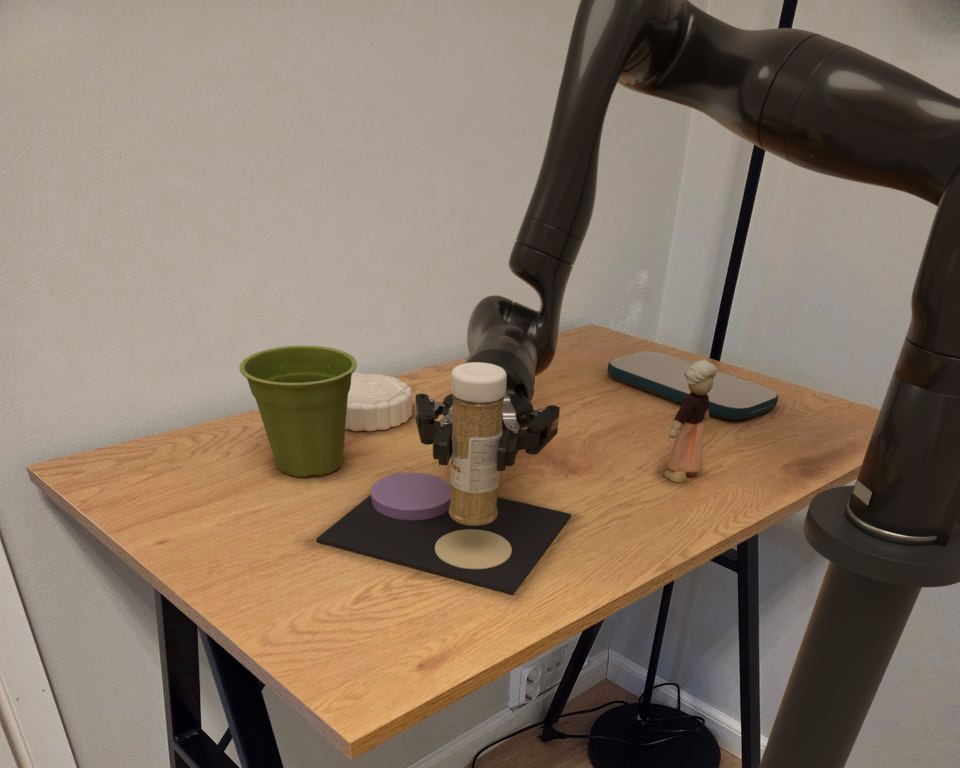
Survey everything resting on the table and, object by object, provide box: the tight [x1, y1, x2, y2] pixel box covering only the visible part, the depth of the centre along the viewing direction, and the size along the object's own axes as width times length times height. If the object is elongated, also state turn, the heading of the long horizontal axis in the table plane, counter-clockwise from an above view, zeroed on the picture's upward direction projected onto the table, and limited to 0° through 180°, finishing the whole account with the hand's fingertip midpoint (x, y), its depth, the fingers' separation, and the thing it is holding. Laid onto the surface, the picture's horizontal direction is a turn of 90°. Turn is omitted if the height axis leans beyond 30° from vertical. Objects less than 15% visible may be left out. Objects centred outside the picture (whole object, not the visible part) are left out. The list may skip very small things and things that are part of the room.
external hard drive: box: [607, 350, 779, 421], centre depth 113 cm, size 24×12×2 cm, turn 42°
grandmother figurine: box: [663, 359, 718, 484], centre depth 89 cm, size 8×4×13 cm, turn 151°
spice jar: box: [449, 362, 507, 526], centre depth 70 cm, size 5×5×14 cm
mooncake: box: [345, 372, 413, 433], centre depth 102 cm, size 12×12×4 cm
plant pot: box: [239, 345, 358, 478], centre depth 87 cm, size 12×12×11 cm
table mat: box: [315, 494, 572, 596], centre depth 80 cm, size 20×16×1 cm
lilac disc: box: [370, 472, 451, 520], centre depth 83 cm, size 8×8×1 cm
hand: (472, 457), depth 68 cm, fingers closed on spice jar, 4 cm apart
